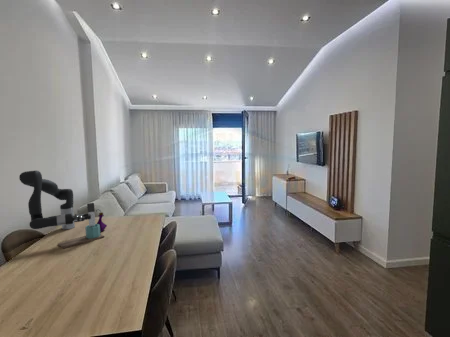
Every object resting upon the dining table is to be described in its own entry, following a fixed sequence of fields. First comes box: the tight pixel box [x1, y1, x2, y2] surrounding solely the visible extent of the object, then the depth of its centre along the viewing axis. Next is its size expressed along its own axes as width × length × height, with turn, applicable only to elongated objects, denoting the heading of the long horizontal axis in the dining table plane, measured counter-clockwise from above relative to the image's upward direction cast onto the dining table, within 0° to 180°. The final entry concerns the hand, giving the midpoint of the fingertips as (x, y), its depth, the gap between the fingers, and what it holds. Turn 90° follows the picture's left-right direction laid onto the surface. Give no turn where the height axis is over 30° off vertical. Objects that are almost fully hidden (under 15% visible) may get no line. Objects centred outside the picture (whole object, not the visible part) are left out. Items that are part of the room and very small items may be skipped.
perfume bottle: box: [95, 208, 108, 233], centre depth 207 cm, size 8×8×18 cm
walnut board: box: [57, 233, 105, 250], centre depth 186 cm, size 12×27×1 cm, turn 138°
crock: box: [84, 223, 101, 239], centre depth 192 cm, size 9×9×8 cm
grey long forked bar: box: [86, 202, 96, 228], centre depth 191 cm, size 4×4×24 cm
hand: (90, 216), depth 190 cm, fingers open, 8 cm apart
